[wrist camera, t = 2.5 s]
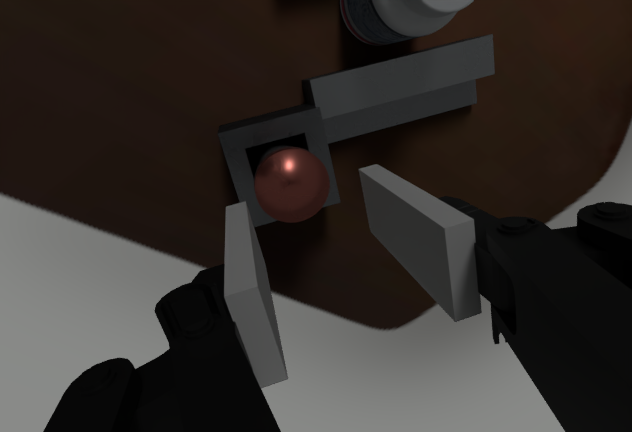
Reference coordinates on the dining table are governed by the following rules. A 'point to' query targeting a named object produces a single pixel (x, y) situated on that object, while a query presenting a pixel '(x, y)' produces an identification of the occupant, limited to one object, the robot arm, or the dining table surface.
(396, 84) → the socket
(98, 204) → the dining table surface
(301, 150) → the plunger
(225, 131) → the block
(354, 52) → the dining table surface
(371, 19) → the pill bottle
